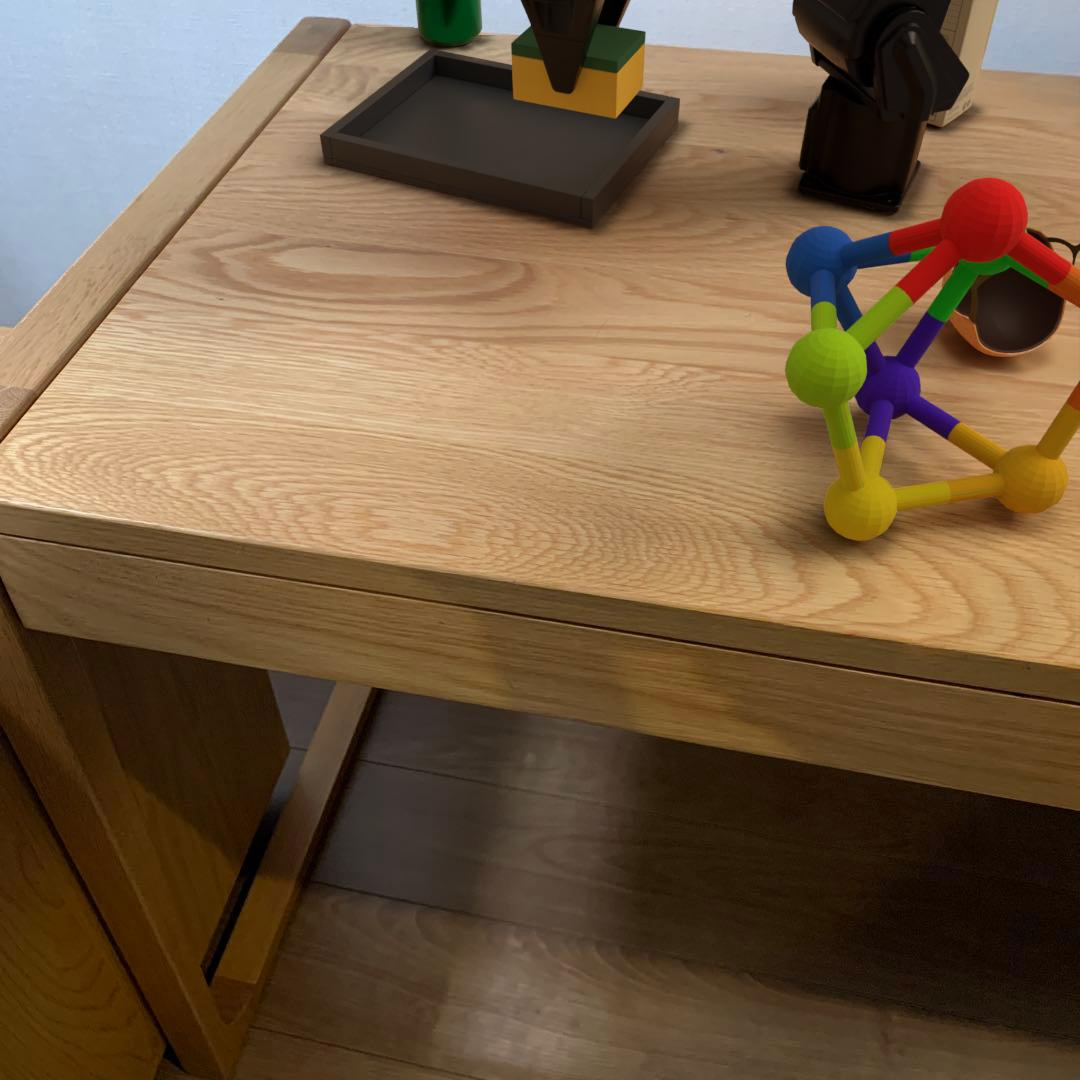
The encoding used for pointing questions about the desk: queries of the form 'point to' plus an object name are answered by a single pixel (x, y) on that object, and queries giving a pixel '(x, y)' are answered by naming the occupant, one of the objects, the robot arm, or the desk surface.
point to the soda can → (449, 21)
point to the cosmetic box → (966, 47)
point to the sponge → (584, 72)
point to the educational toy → (918, 355)
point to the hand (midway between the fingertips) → (579, 74)
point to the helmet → (1010, 309)
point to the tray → (498, 140)
